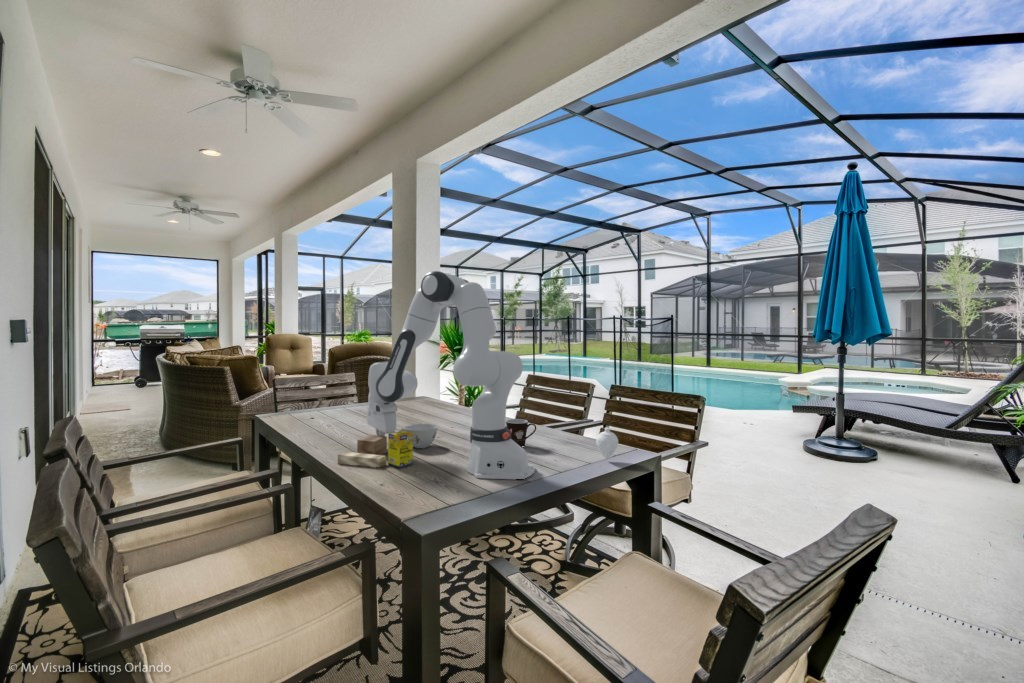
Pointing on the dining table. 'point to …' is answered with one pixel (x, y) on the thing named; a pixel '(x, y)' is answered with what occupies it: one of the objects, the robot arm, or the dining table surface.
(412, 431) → the teacup
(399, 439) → the supplement box
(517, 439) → the coffee mug
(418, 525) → the dining table surface
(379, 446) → the block
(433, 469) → the dining table surface
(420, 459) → the dining table surface
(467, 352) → the robot arm
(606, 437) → the spinning top
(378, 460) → the beige long bar
